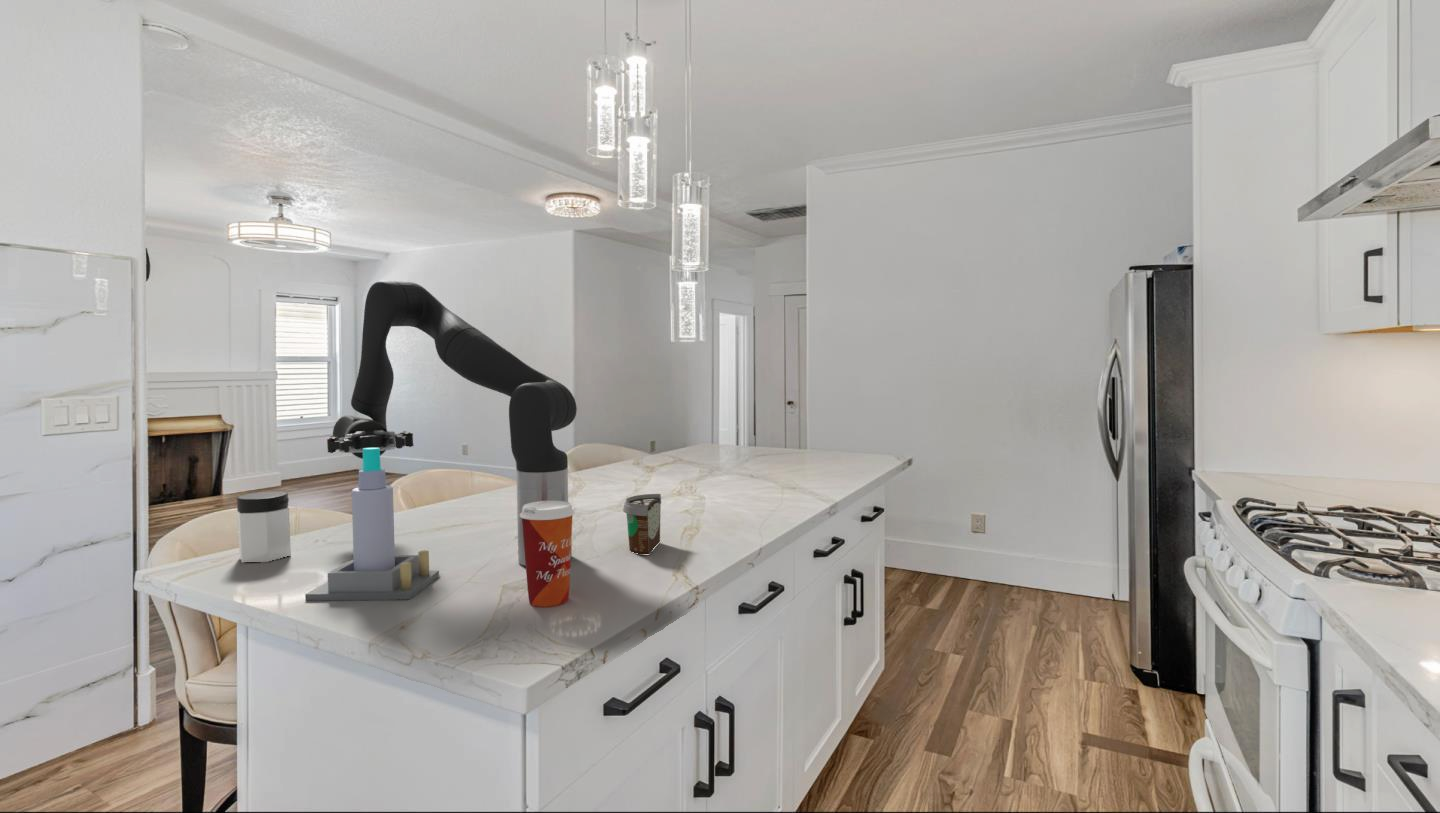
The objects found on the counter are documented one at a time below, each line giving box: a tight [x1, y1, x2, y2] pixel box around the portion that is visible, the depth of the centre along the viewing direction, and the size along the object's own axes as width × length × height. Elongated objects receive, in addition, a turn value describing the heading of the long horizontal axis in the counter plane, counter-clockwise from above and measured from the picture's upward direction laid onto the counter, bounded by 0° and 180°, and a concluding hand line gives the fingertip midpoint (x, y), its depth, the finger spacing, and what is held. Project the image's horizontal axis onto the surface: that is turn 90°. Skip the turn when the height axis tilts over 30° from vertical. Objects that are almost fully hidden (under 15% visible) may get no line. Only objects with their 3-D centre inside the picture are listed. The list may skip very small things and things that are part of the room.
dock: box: [304, 549, 440, 602], centre depth 114 cm, size 16×12×5 cm
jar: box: [236, 491, 292, 564], centre depth 132 cm, size 9×8×12 cm
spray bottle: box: [351, 448, 396, 571], centre depth 113 cm, size 6×6×22 cm
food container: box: [622, 493, 662, 555], centre depth 137 cm, size 12×6×10 cm, turn 172°
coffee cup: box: [520, 501, 576, 608], centre depth 107 cm, size 8×8×15 cm
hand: (374, 444), depth 124 cm, fingers open, 8 cm apart
